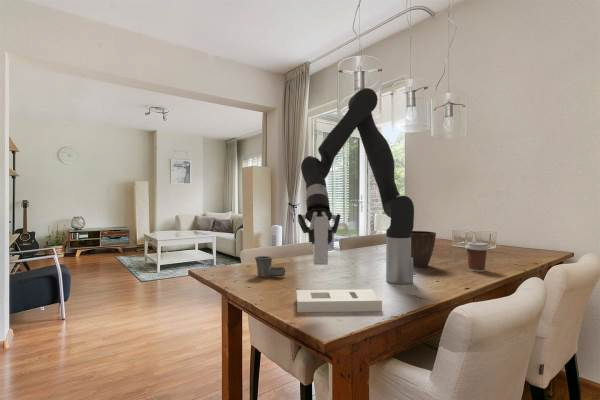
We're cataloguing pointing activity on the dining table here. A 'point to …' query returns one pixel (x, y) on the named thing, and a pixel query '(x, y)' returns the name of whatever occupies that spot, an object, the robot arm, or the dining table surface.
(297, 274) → the dining table surface
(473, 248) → the coffee cup
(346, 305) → the socket plank
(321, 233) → the gray square peg
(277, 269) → the pipe
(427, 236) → the plant pot
